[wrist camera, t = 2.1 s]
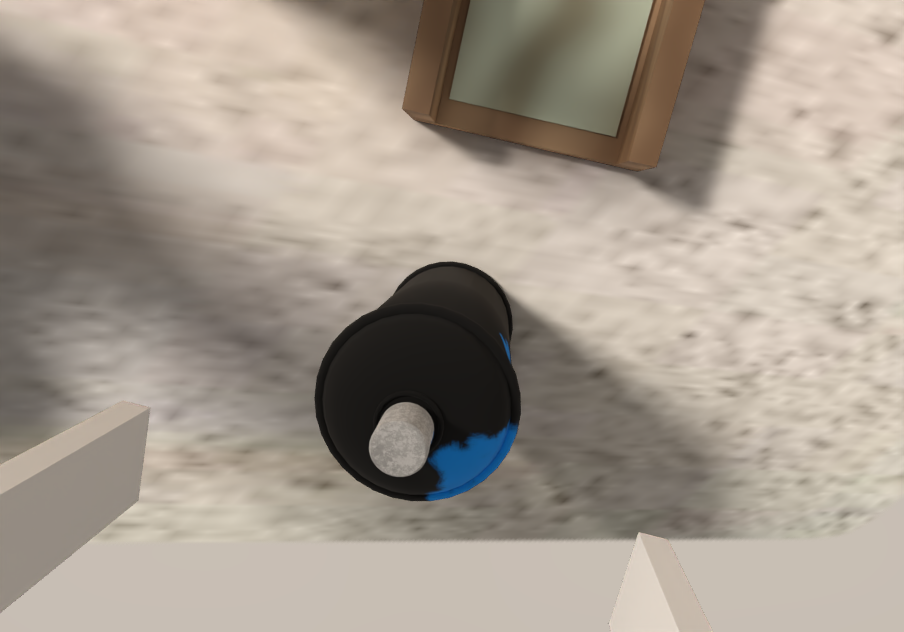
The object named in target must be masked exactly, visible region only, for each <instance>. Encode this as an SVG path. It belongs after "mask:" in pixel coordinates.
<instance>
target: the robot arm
mask: <svg viewBox="0 0 904 632" xmlns="http://www.w3.org/2000/svg"><path fill="white" fill-rule="evenodd" d="M149 414H150V407H146V406H142V405H138V404H134V403H130V402H126V401H121V402H119V403H117V404H115V405H114V406H112V407H110V408H108V409H106V410H104V411H102V412H100V413H98V414H96V415H94V416H92V417H91V418H89V419H87V420H85V421H83V422H81V423H79V424H77V425H75V426H73V427H71V428H69V429H67V430H66V431H64V432H62V433H60V434H58V435H56V436H54V437H52V438H50V439H48V440H46V441H44V442H42V443H41V444H39V445H37V446H35V447H33V448H31V449H29V450H27V451H25V452H23V453H21V454H19V455H17V456H16V457H14V458H12V459H10V460H8V461H6V462H4V463H2V464H0V613H1V612H2V611H3V610H5V609H6V608H7V607H8V606H9V605H11V604H12V603H13V602H14V601H16V600H17V599H18V598H19V597H21V596H22V595H23V594H24V593H25V592H27V591H28V590H29V589H30V588H31V587H33V586H34V585H35V584H36V583H38V582H39V581H40V580H41V579H43V578H44V577H45V576H46V575H47V574H49V573H50V572H51V571H52V570H54V569H55V568H56V567H57V566H58V565H60V564H61V563H62V562H63V561H64V560H66V559H67V558H68V557H70V556H71V555H72V554H73V553H74V552H76V551H77V550H78V549H79V548H81V547H82V546H83V545H84V544H86V543H87V542H88V541H89V540H90V539H92V538H93V537H94V536H95V535H97V534H98V533H99V532H100V531H101V530H103V529H104V528H105V527H106V526H108V525H109V524H110V523H111V522H112V521H114V520H115V519H116V518H117V517H119V516H120V515H121V514H122V513H124V512H125V511H126V510H127V509H128V508H130V507H131V506H132V505H133V504H135V503H136V502H137V501H138V499H139V491H140V483H141V476H142V468H143V460H144V453H145V445H146V437H147V430H148V422H149ZM609 627H610V631H611V632H713V631H712V629H711V626H710V624H709V622H708V620H707V618H706V616H705V614H704V612H703V610H702V608H701V606H700V604H699V602H698V600H697V598H696V596H695V594H694V592H693V590H692V588H691V586H690V584H689V581H688V579H687V577H686V575H685V573H684V571H683V569H682V567H681V565H680V563H679V561H678V559H677V557H676V555H675V553H674V551H673V549H672V547H671V544H670V542H669V540H668V539H664V538H660V537H656V536H652V535H648V534H644V533H640V532H638V535H637V538H636V541H635V545H634V548H633V551H632V554H631V557H630V560H629V563H628V566H627V569H626V572H625V575H624V578H623V581H622V584H621V587H620V591H619V593H618V596H617V600H616V603H615V606H614V609H613V612H612V615H611V618H610V621H609Z"/></svg>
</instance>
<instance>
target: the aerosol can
mask: <svg viewBox="0 0 904 632" xmlns="http://www.w3.org/2000/svg"><path fill="white" fill-rule="evenodd" d="M511 335H512V314H511V310H510V305H509V303H508V301H507V299H506V296H505V294H504V293H503V291H502V290H501V288H500V287H499V286H498V284H497V283H496V282H495V281H494V280H493V279H492V278H491V277H490V276H488V275H487V274H485V273H484V272H482V271H481V270H479V269H478V268H475V267H472V266H470V265H467V264H463V263H457V262H439V263H434V264H430V265H427V266H425V267H422V268H420V269H418V270H416V271H415V272H413V273H412V274H411V275H409V276H408V277H407V278H406V279H405V280H404V281H403V282H402V283H401V284H400V285H399V286H398V288H397V290H396V291H395V293H394V295H393V296H391V297H390V298H389V299H388V300H387V301H386V302H385V303H384V304H383V305H381V306H380V307H379V308H378V309H377V310H374V311H372V312H370V313H368V314H365V315H363V316H361V317H360V318H359V319H357V320H356V321H355V322H353V323H352V324H350V325H349V326H348V327H346V328H345V329H344V330H343V332H342V333H341V334H340V335H339V336H338V337H337V338H336V339H335V340H334V341H333V343H332V344H331V346H330V348H329V350H328V351H327V353H326V355H325V356H324V358H323V360H322V363H321V366H320V369H319V372H318V375H317V381H316V389H315V409H316V418H317V421H318V424H319V428H320V431H321V435H322V437H323V439H324V441H325V443H326V445H327V446H328V448H329V450H330V452H331V453H332V455H333V456H334V457H335V459H336V460H337V461H338V462H339V464H340V465H341V466H342V467H343V468H344V469H345V470H346V471H347V472H348V473H349V474H350V475H352V476H353V477H354V478H355V479H356V480H357V481H359V482H361V483H362V484H364V485H366V486H367V487H369V488H371V489H372V490H374V491H377V492H379V493H382V494H384V495H387V496H390V497H393V498H398V499H403V500H409V501H434V500H439V499H445V498H450V497H453V496H455V495H458V494H460V493H463V492H466V491H468V490H470V489H471V488H473V487H474V486H476V485H478V484H479V483H481V482H482V481H484V480H485V479H486V478H487V477H488V476H489V475H490V474H491V473H492V472H493V471H494V470H496V469H497V468H498V466H499V465H500V464H501V462H502V461H503V459H504V458H505V456H506V455H507V453H508V452H509V451H510V448H511V446H512V443H513V441H514V439H515V436H516V434H517V430H518V425H519V420H520V415H521V399H520V390H519V386H518V381H517V377H516V373H515V371H514V369H513V367H512V364H511V353H510V340H511Z"/></svg>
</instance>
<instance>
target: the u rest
mask: <svg viewBox="0 0 904 632" xmlns="http://www.w3.org/2000/svg"><path fill="white" fill-rule="evenodd" d="M704 2H705V0H424V2H423V7H422V12H421V17H420V22H419V27H418V32H417V37H416V42H415V47H414V52H413V57H412V62H411V67H410V72H409V77H408V82H407V87H406V92H405V97H404V102H403V107H402V109H403V110H404V111H405V112H406V113H407V114H408V115H409V116H410V117H411V118H413V119H414V120H417V121H421V122H426V123H430V124H434V125H439V126H443V127H447V128H452V129H456V130H460V131H465V132H469V133H473V134H478V135H482V136H486V137H491V138H495V139H499V140H504V141H508V142H512V143H517V144H521V145H525V146H530V147H534V148H538V149H543V150H547V151H551V152H556V153H560V154H564V155H569V156H573V157H577V158H582V159H586V160H590V161H595V162H599V163H603V164H608V165H612V166H616V167H621V168H625V169H629V170H634V171H641V170H645V169H650V168H655V167H656V166H657V163H658V159H659V156H660V152H661V149H662V146H663V142H664V139H665V135H666V132H667V129H668V125H669V122H670V118H671V115H672V111H673V108H674V105H675V101H676V98H677V94H678V91H679V88H680V84H681V81H682V77H683V74H684V70H685V67H686V64H687V60H688V57H689V53H690V50H691V47H692V43H693V40H694V36H695V33H696V29H697V26H698V23H699V19H700V16H701V12H702V9H703V6H704Z"/></svg>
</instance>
